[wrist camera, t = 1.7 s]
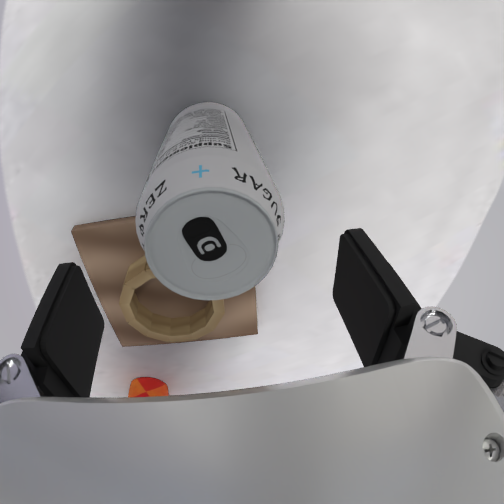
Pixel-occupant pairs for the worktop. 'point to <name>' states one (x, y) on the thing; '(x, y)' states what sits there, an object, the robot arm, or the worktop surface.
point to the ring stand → (152, 293)
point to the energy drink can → (209, 207)
